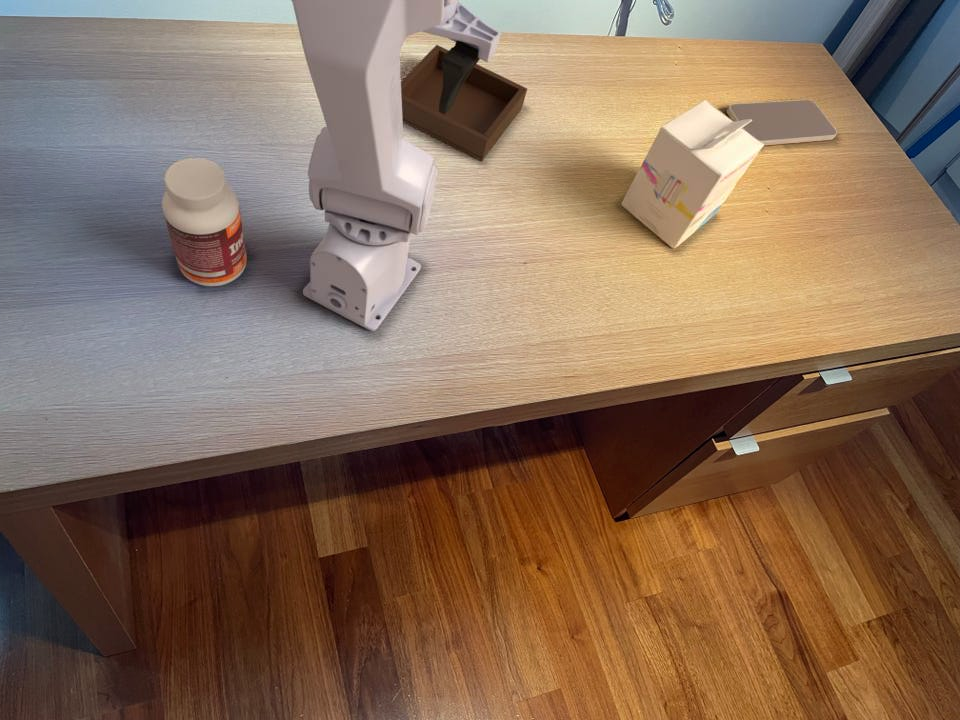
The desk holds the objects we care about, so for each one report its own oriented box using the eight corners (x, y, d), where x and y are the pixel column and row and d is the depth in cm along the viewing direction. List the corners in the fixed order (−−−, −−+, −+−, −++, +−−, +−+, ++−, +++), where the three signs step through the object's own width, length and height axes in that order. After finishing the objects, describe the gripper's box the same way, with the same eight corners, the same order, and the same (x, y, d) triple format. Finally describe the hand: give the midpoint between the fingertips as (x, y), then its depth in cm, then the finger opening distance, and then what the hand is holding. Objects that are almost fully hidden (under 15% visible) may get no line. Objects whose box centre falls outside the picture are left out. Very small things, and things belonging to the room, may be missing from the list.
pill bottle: (249, 286, 64) (236, 205, 55) (179, 291, 63) (153, 208, 53) (245, 235, 67) (232, 150, 58) (178, 239, 65) (153, 151, 56)
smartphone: (840, 135, 94) (753, 142, 89) (836, 140, 94) (749, 147, 90) (812, 98, 97) (726, 103, 92) (808, 104, 98) (723, 109, 93)
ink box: (660, 175, 84) (712, 82, 72) (713, 218, 81) (775, 129, 70) (618, 205, 80) (666, 112, 68) (673, 251, 77) (732, 162, 66)
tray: (481, 161, 79) (487, 141, 76) (387, 114, 80) (389, 93, 77) (521, 108, 85) (527, 88, 83) (433, 65, 86) (436, 44, 84)
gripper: (527, -31, 58) (494, 102, 69) (379, -102, 59) (370, 40, 70) (492, 5, 54) (463, 140, 65) (334, -71, 55) (332, 74, 67)
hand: (412, 91), depth 68 cm, fingers open, 7 cm apart
